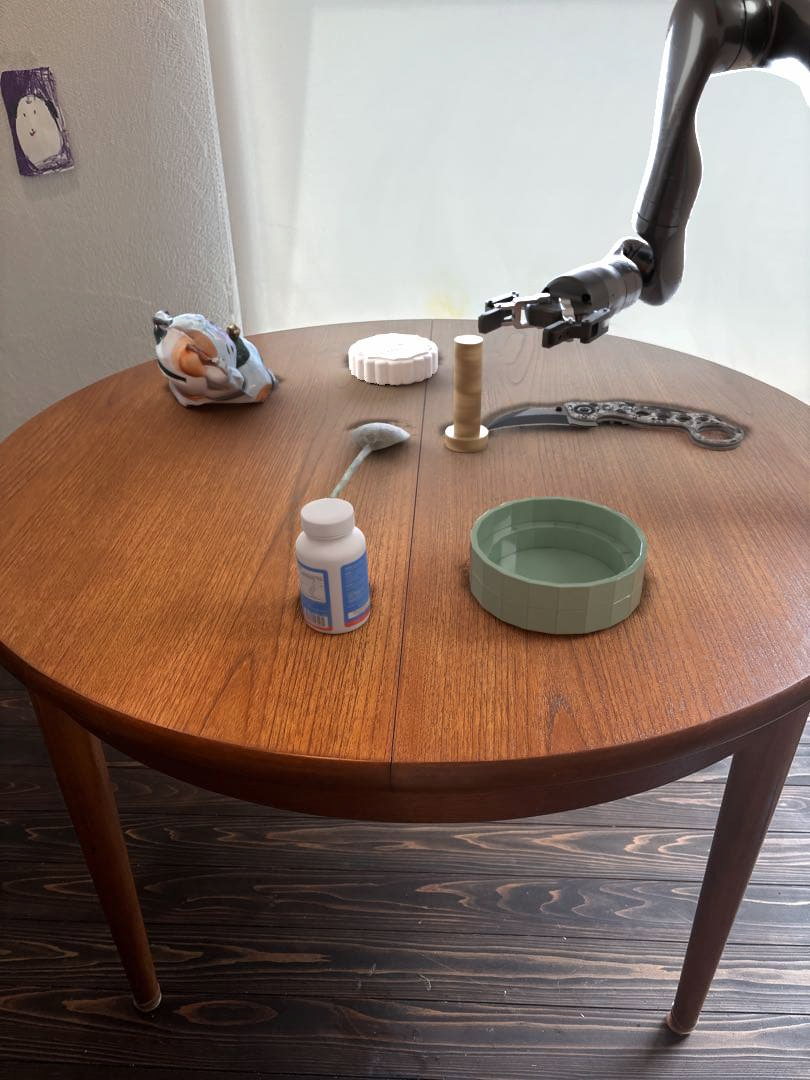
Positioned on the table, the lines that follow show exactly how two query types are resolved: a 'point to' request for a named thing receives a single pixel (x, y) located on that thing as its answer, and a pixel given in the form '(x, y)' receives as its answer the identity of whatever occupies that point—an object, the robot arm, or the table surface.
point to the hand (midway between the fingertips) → (512, 332)
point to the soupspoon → (370, 446)
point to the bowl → (557, 564)
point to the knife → (626, 420)
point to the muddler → (467, 397)
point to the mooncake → (393, 359)
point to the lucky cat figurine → (209, 361)
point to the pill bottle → (332, 567)
